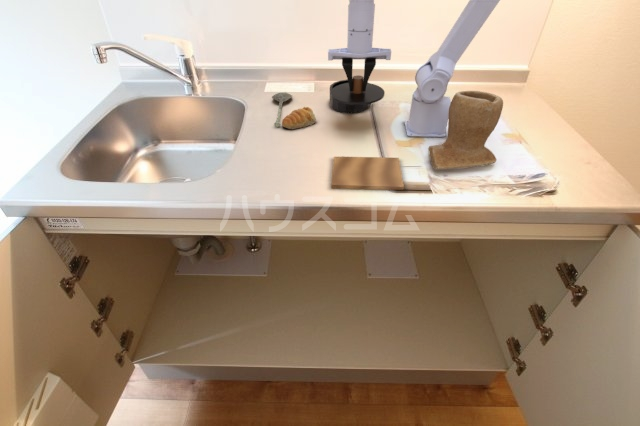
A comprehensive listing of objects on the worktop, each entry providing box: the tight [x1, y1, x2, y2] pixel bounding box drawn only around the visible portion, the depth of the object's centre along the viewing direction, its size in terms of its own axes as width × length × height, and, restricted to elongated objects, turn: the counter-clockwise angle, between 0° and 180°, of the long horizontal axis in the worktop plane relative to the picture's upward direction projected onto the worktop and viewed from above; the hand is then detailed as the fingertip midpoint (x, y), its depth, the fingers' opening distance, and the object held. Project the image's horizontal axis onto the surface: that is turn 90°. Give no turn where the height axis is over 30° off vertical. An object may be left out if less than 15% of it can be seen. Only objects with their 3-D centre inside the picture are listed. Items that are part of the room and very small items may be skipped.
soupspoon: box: [271, 92, 293, 128], centre depth 96 cm, size 22×3×7 cm
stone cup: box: [428, 90, 504, 170], centre depth 69 cm, size 15×12×15 cm
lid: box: [331, 74, 386, 105], centre depth 79 cm, size 14×14×5 cm
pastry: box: [281, 106, 317, 130], centre depth 88 cm, size 9×7×4 cm
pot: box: [329, 78, 372, 114], centre depth 96 cm, size 13×18×5 cm
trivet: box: [330, 156, 405, 191], centre depth 70 cm, size 15×11×1 cm
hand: (357, 89), depth 80 cm, fingers closed on lid, 2 cm apart
